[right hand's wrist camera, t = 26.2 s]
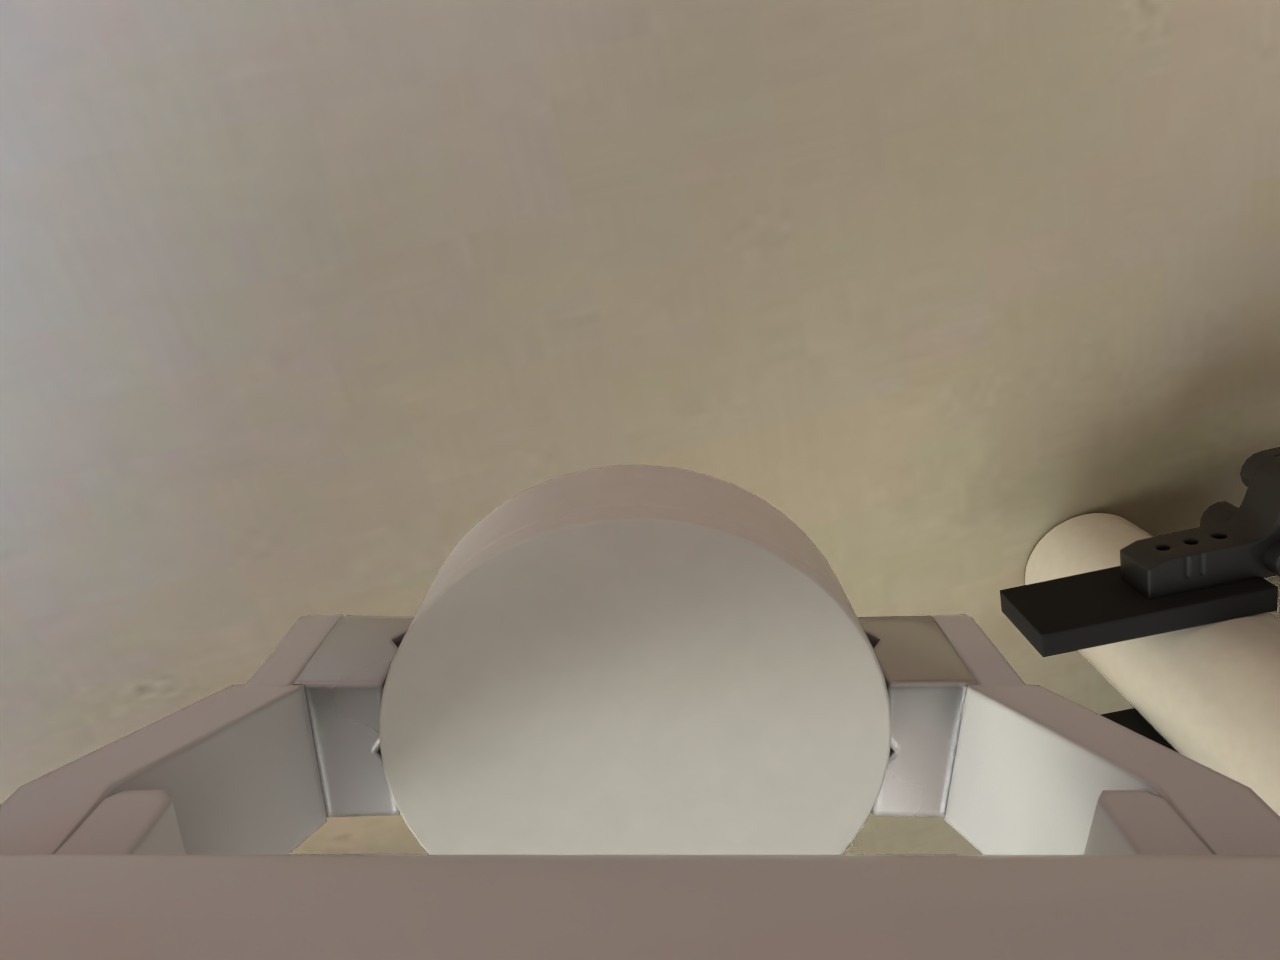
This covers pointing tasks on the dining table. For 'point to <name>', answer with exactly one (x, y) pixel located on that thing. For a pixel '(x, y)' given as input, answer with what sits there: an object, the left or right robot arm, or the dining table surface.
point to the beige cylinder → (1184, 666)
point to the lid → (635, 680)
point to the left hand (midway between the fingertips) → (1028, 697)
